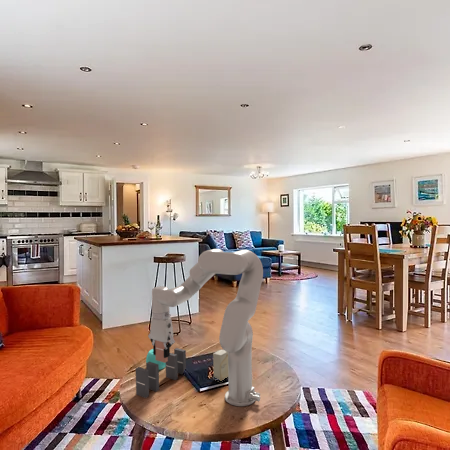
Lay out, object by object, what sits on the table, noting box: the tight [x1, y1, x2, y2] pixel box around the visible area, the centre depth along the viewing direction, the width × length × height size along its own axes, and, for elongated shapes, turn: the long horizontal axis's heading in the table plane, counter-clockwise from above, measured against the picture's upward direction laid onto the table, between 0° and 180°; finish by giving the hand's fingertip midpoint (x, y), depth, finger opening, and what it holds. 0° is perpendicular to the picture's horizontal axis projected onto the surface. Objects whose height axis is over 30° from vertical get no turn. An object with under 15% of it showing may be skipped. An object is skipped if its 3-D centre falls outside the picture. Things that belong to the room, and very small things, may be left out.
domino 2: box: [145, 362, 160, 392], centre depth 148 cm, size 2×6×11 cm, turn 57°
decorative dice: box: [145, 348, 166, 371], centre depth 169 cm, size 8×8×8 cm
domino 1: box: [135, 366, 150, 399], centre depth 143 cm, size 2×6×11 cm, turn 57°
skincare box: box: [212, 348, 228, 382], centre depth 156 cm, size 6×4×12 cm
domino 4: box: [165, 352, 179, 381], centre depth 158 cm, size 2×6×11 cm, turn 57°
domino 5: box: [173, 347, 187, 375], centre depth 163 cm, size 2×6×11 cm, turn 57°
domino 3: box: [155, 341, 168, 363], centre depth 152 cm, size 2×6×11 cm, turn 57°
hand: (161, 355), depth 152 cm, fingers closed on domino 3, 5 cm apart
